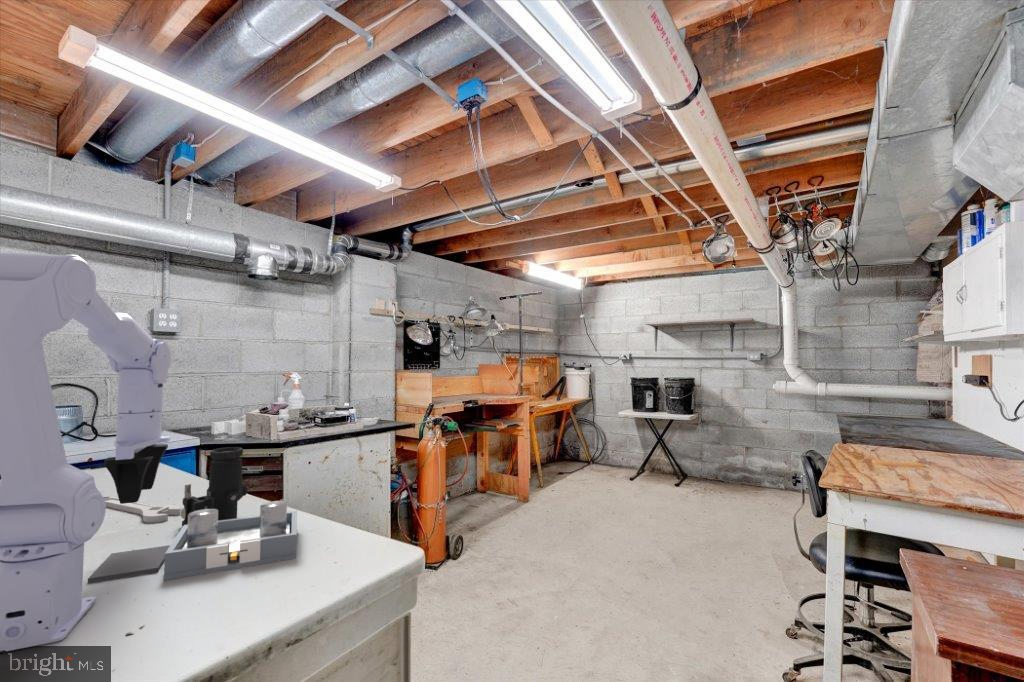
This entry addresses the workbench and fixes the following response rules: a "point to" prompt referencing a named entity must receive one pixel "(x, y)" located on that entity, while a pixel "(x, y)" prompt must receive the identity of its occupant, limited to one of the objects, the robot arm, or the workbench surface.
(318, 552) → the workbench surface
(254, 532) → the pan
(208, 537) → the cylinder
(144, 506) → the adjustable wrench
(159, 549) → the rubber mat
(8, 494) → the robot arm
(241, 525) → the tray
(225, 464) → the scope
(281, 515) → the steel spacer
